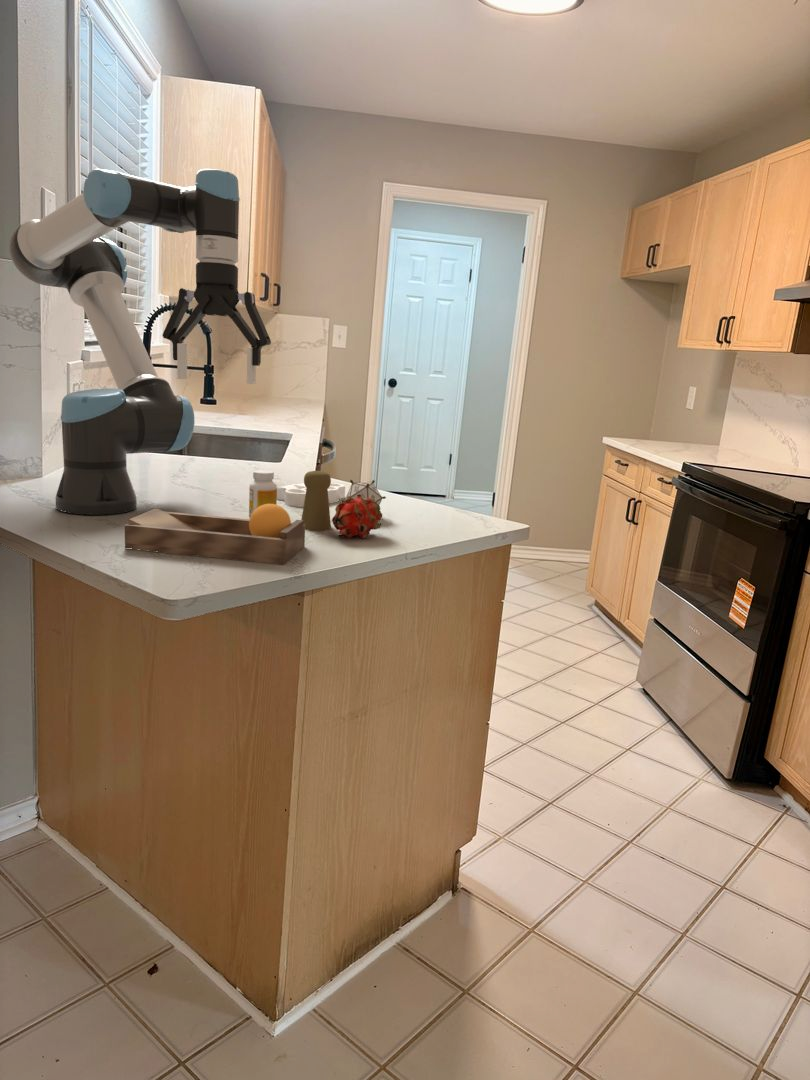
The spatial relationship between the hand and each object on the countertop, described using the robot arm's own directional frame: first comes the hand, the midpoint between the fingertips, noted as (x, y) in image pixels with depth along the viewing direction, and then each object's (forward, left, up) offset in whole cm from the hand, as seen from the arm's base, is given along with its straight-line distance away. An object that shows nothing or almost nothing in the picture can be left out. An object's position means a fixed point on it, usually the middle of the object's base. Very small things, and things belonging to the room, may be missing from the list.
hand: (216, 381), depth 146 cm
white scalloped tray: (+12, +28, -27) cm, 41 cm away
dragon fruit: (+29, -4, -27) cm, 40 cm away
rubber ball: (+17, -20, -22) cm, 34 cm away
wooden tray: (+8, -21, -27) cm, 35 cm away
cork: (+20, +1, -27) cm, 34 cm away
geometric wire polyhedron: (+27, +13, -27) cm, 40 cm away
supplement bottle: (+8, +3, -27) cm, 28 cm away
